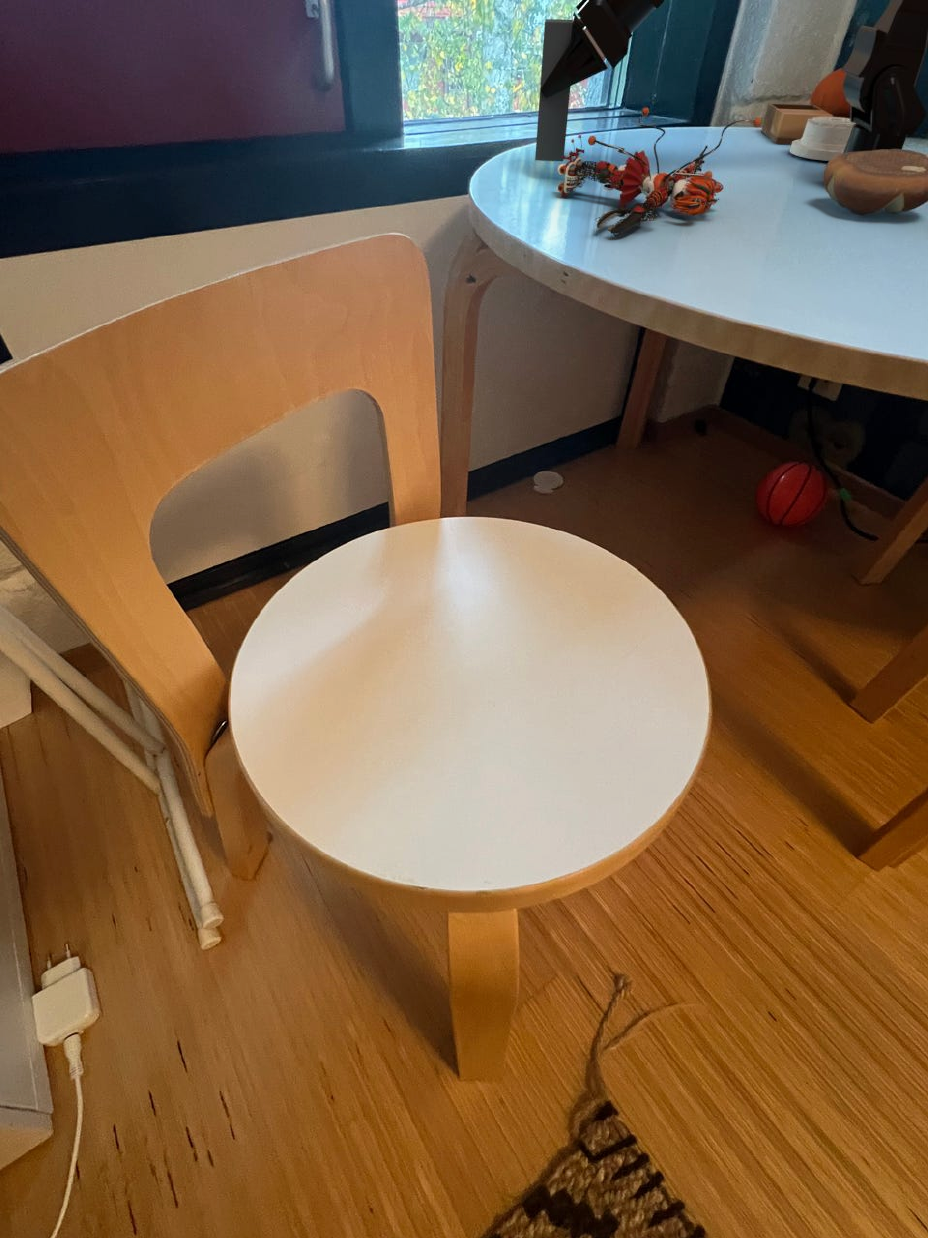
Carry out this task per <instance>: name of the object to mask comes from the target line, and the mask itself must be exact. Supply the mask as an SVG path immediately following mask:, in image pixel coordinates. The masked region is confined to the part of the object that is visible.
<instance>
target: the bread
mask: <svg viewBox="0 0 928 1238" xmlns="http://www.w3.org/2000/svg"><path fill="white" fill-rule="evenodd" d="M822 183H823V185H824V189H825V191H826V192H827V194H828V195H829V197H830V198H831V199H832V200H833V201H835V202H836V203H838V205H839V206H840V207H842V208H845V209H847V210H848V211H850V212H851V213H852V214H854V215H859V216H866V215H867V216H868V215H872V214H875V213H879V212H880V211H882V210H883V211H884V213H886V214H901V213H905V212H910V211H912V210H916V209H917V208H919V207H921V206H923V205H925V204H927V202H928V156H927V155H926V154H924V153H922V152H920V151H915V150H909V149H903V148H902V149H890V150H888V149H881V150H873V151H858V152H848V153H843V154H839V155H837V156H835V157H833V158H832V159H831V160H830V161H827V164H826V165H825V167H824V169H823V172H822Z"/></svg>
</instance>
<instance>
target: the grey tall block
mask: <svg viewBox="0 0 928 1238" xmlns="http://www.w3.org/2000/svg"><path fill="white" fill-rule="evenodd" d="M572 24H573V20H572V19H557V18H556V19H555V18H546V19H545V20H544V29H543V43H542V58H541V69H540V71H541V72H540V85H539V86H540V87H539V97H538V99H539V100H538V115H537V127H536V129H537V130H536V142H535V143H536V144H535V154H534V155H535V156H534V160H535V161H536V162H537V161H538V162H542V161H543V162H564V160H565V159H563V157H564V156H565V150H566V149H565V148H566V138H567V128H568V119H569V109H570V107H569V105H570V98H571V97H570V95H571V87H572V86H570V87H568V88H566V89H564V90H562V91H560V92H558V93H556V94H554V95H552V96H550V97H548V98H545V97H544V95H543V94H542V93H541V88H542V86H543V85H544V83H545V81H546V80H547V78H548V77H549V75H550V73H551V72H552V70H553V69H554V67H555V66H556V64H557V62H558V61H559V59H560V58H561V56H562V55H563V53H564V51H565V50H566V48H567V47H568V45H569V44H570V41H571V34H572Z"/></svg>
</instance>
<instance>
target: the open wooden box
mask: <svg viewBox="0 0 928 1238" xmlns="http://www.w3.org/2000/svg"><path fill="white" fill-rule="evenodd" d="M812 117H833V115H831V114H829V113H828V112H826V111H824V110H822V109H821V108H819V107H817V106H815V105H810V104H801V103H800V104H798V103H797V104H796V103H772V102H771V103H768V104H767V108H766V111H765V115H764V119H763V123H762V127H761V131H760V132H761V133H762V134H763V135H765V136H766V137H767V139H769V140H771V141H772V142H773V143H774V144H775V145H791V144H792V141H795V140H799V139H801V138H802V137H803V134H804V131H805V128H806V125H807V121H808V119H812Z"/></svg>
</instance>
